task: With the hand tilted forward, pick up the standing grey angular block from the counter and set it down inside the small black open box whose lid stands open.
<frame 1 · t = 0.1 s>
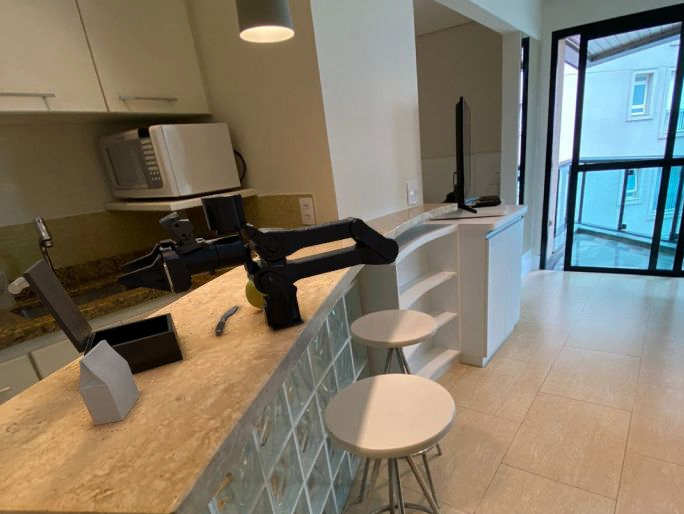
hand: (119, 274, 68), 17 cm above the counter, tool horizontal, fingers open, 9 cm apart
black open box: (142, 359, 76), on the counter
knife: (227, 320, 90), on the counter
lemon: (262, 310, 95), on the counter
box lid: (49, 309, 67), point 13 cm above the counter, hinge at 100.0°
grey angular block: (119, 410, 61), on the counter
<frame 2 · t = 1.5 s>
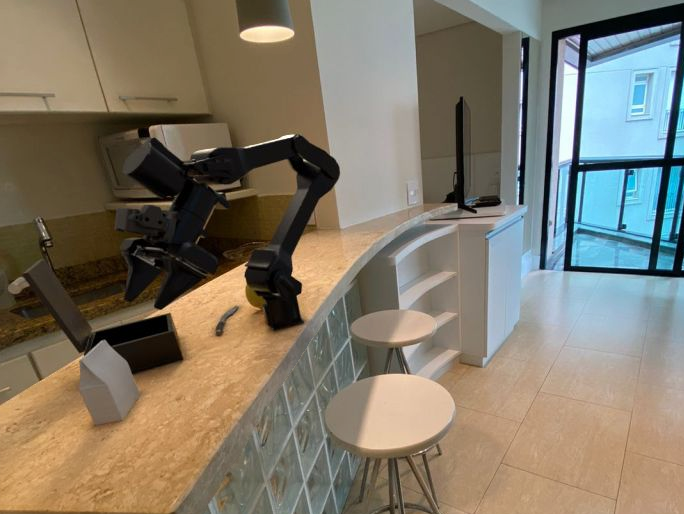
hand: (141, 304, 61), 14 cm above the counter, tool tilted 45°, fingers open, 9 cm apart
nothing on the counter moved.
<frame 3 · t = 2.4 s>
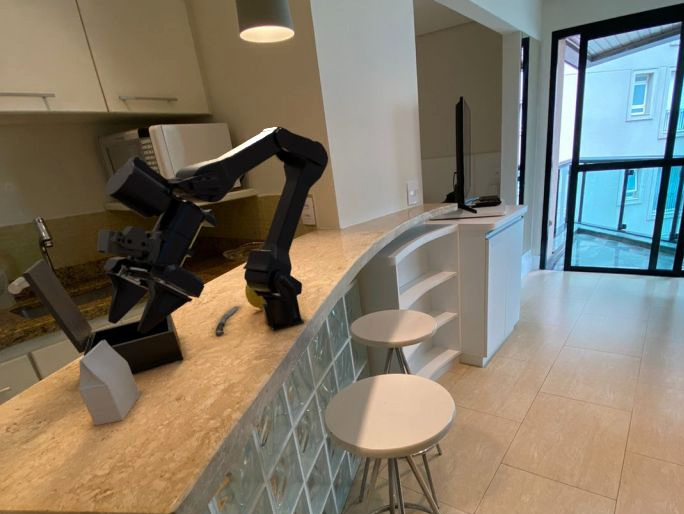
hand: (125, 327, 60), 11 cm above the counter, tool tilted 45°, fingers open, 9 cm apart
nothing on the counter moved.
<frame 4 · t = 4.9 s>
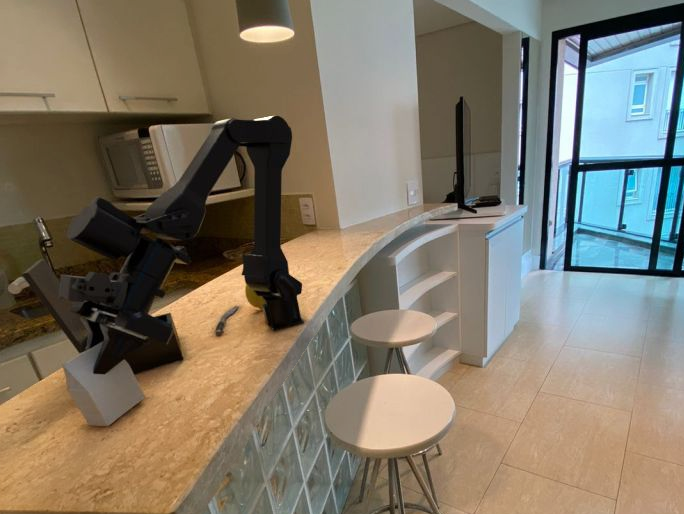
hand: (90, 375, 57), 7 cm above the counter, tool tilted 45°, fingers closed on grey angular block, 2 cm apart
grey angular block: (118, 411, 60), on the counter, touching gripper
everything else where it was.
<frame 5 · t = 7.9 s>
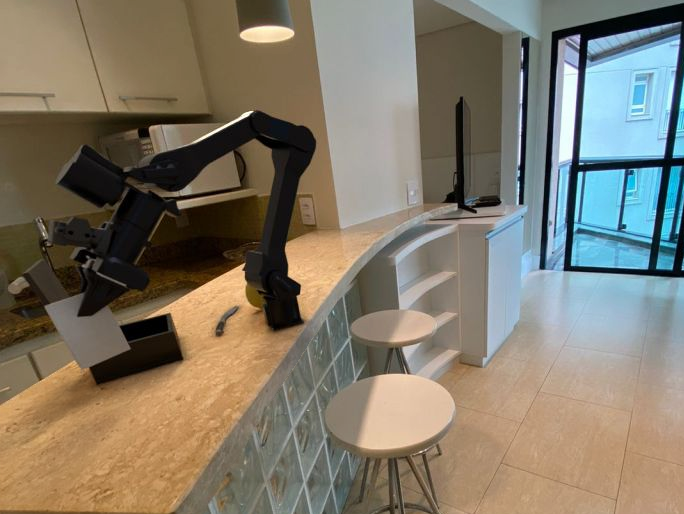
hand: (78, 318, 59), 13 cm above the counter, tool tilted 45°, fingers closed on grey angular block
grey angular block: (104, 357, 63), point 6 cm above the counter, touching gripper
everything else where it was.
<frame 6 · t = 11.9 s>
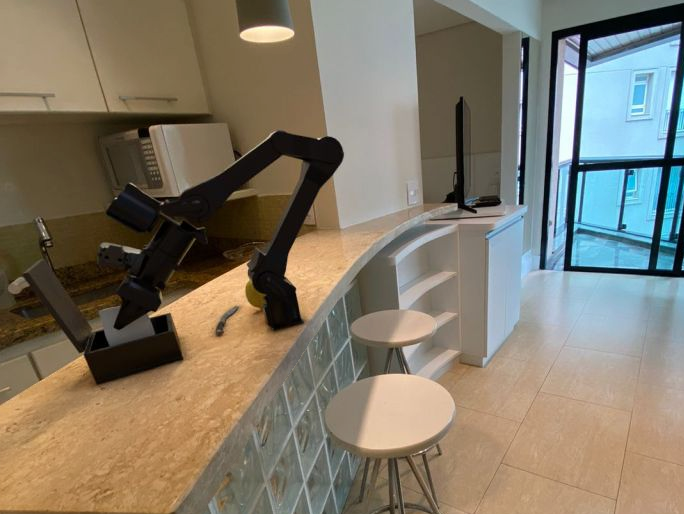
hand: (118, 323, 72), 8 cm above the counter, tool tilted 45°, fingers open, 6 cm apart
grey angular block: (140, 357, 76), point 1 cm above the counter, touching black open box
everything else where it was.
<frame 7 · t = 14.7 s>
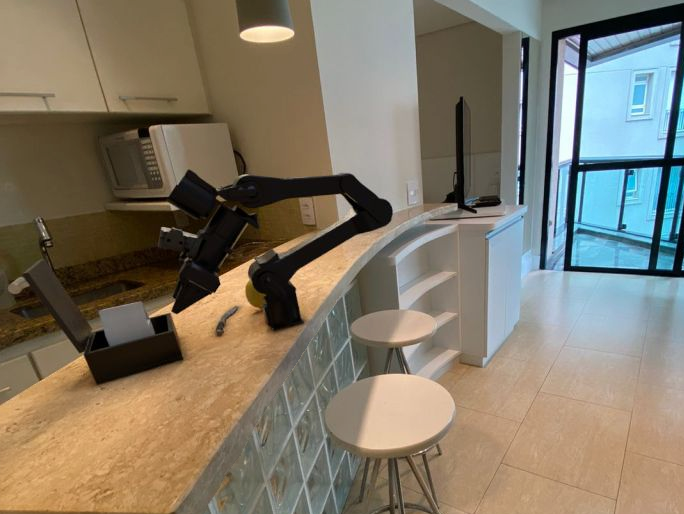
hand: (174, 305, 75), 9 cm above the counter, tool tilted 45°, fingers open, 9 cm apart
nothing on the counter moved.
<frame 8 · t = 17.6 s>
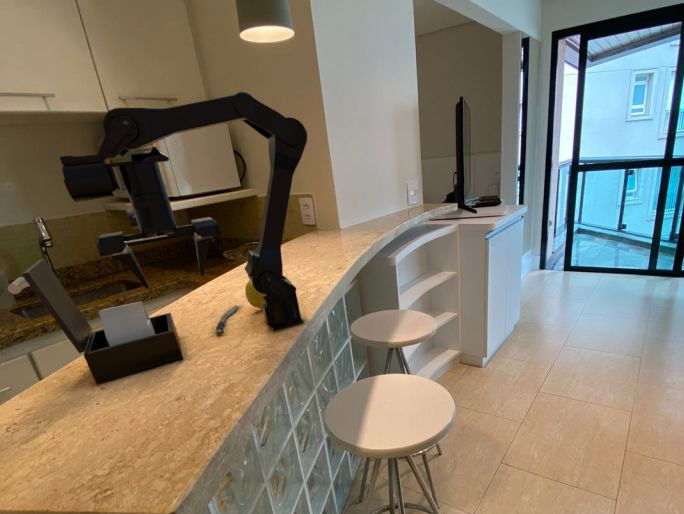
hand: (175, 282, 74), 13 cm above the counter, tool pointing down, fingers open, 9 cm apart
nothing on the counter moved.
at the end: grey angular block inside the target area in the black open box (0.1 cm from its centre), point 0.6 cm above the black open box's base; the gripper is holding nothing; box lid at +100° (first picture: +100°) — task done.
